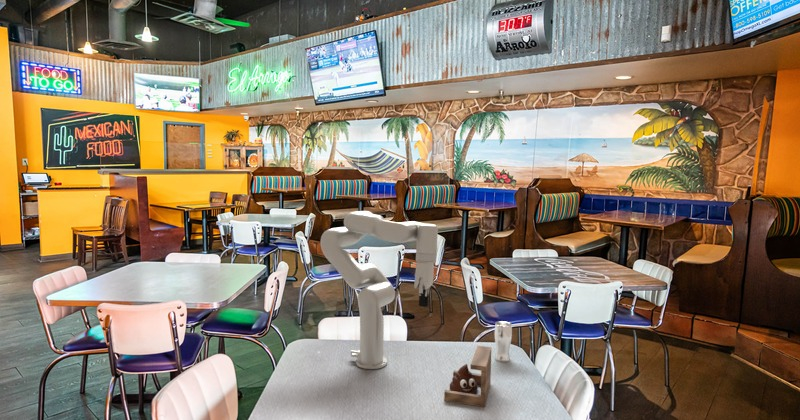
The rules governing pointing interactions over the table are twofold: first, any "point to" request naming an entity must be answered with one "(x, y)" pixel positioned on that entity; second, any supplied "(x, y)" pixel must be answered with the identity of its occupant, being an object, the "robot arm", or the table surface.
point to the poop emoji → (463, 381)
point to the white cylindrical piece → (503, 340)
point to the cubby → (478, 363)
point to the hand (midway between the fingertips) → (423, 305)
